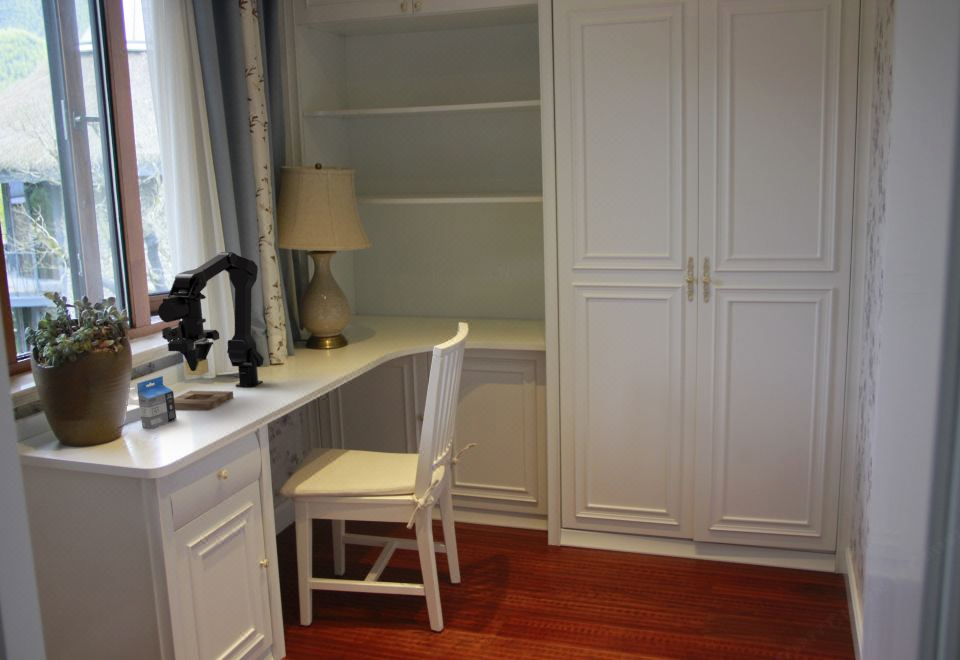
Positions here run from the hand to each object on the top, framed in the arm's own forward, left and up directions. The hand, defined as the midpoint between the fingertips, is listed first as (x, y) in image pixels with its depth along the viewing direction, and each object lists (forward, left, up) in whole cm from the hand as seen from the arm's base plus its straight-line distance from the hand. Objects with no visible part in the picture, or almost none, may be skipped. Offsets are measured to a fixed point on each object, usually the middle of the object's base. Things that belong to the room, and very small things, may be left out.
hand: (197, 369), depth 252 cm
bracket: (+18, -13, -11) cm, 24 cm away
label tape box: (+21, 0, -11) cm, 24 cm away
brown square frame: (0, 0, -10) cm, 10 cm away
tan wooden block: (0, 0, -1) cm, 1 cm away
